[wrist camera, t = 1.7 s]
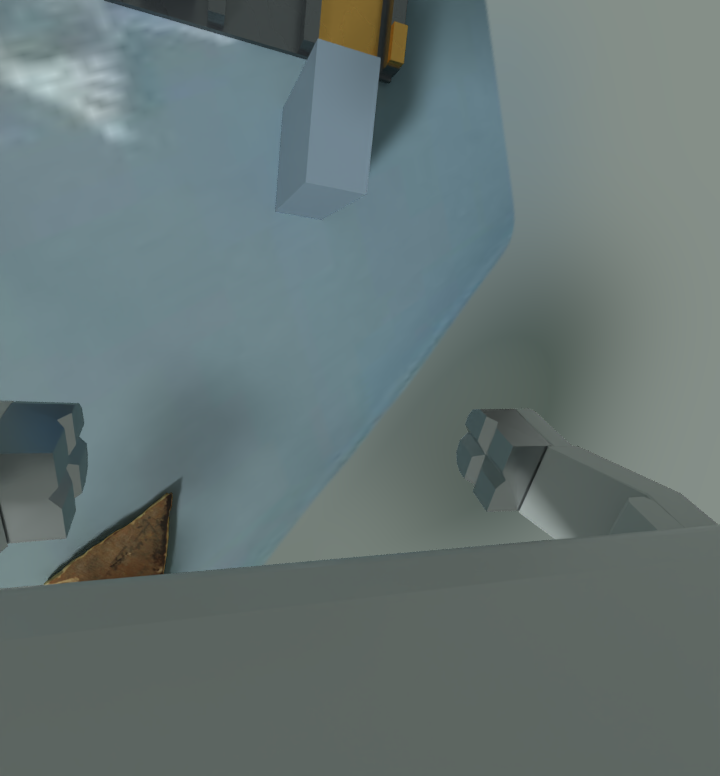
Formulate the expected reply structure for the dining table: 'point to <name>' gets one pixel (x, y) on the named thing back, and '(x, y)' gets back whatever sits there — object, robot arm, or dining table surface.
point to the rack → (297, 24)
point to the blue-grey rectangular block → (327, 132)
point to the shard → (125, 550)
